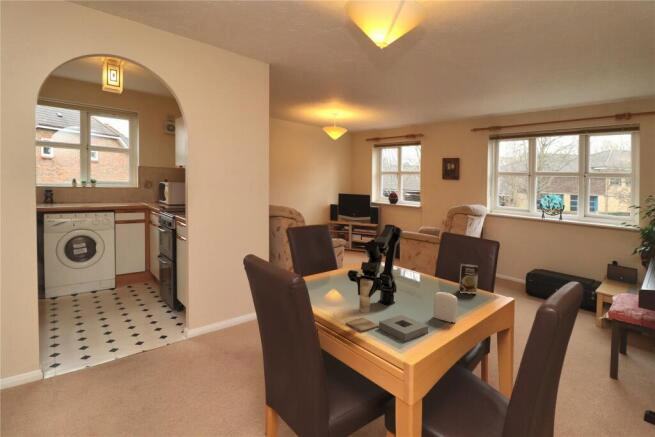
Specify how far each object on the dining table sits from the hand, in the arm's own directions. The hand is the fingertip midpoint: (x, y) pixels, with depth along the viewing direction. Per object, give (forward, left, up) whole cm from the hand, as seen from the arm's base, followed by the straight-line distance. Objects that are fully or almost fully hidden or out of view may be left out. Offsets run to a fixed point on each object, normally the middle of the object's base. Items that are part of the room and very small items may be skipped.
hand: (363, 295), depth 140 cm
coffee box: (-2, +84, -14) cm, 85 cm away
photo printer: (+14, +37, -14) cm, 42 cm away
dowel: (-1, +1, -7) cm, 7 cm away
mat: (-1, +1, -13) cm, 14 cm away
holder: (+12, +12, -13) cm, 21 cm away
